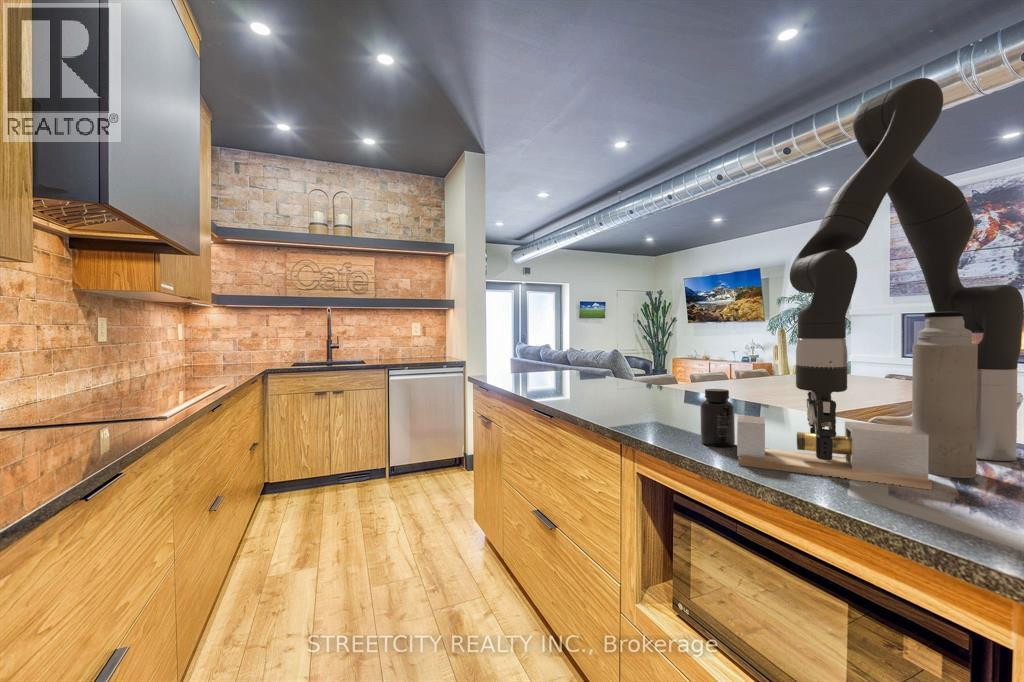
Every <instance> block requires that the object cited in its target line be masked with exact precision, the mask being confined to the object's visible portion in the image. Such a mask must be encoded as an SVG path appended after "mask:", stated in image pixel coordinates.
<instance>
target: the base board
mask: <svg viewBox="0 0 1024 682" xmlns="http://www.w3.org/2000/svg"><path fill="white" fill-rule="evenodd" d="M738 466H744V467H751V468H757V469H758V468H760V469H768V470H772V471H773V470H774V471H775V470H776V471H781V470H782V472H789V473H790V472H791V473H799V474H805V473H806V474H805V475H807V474H808V475H814V476H820V475H823V476H822V477H828V476H832V477H831V478H836V477H840V478H839V479H844V478H847V479H846V480H854V481H861V482H868V481H870V482H869V483H875V482H878V483H877V484H883V483H887V484H886V485H891V484H894V485H893V486H899V485H901V487H908V488H915V489H916V488H917V489H924V490H932V486H933V483H932V482H933V481H932V480H930V479H929V478H928V479H926V478H918V477H909V476H901V475H892V474H884V473H876V472H867V471H859V470H852V469H851V462H848V461H845V456H837V455H836V456H835V455H832V459H831V460H822V459H818V458H817V457H816V453H809V452H808V453H806V452H799V451H798V452H797V451H789V450H780V449H772V448H771V449H770V448H765V460H764V459H756V458H748V457H739V456H738Z"/></svg>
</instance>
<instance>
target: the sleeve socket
mask: <svg viewBox="0 0 1024 682" xmlns="http://www.w3.org/2000/svg"><path fill="white" fill-rule="evenodd" d="M736 420H737V421H736V423H737V424H736V426H737V427H736V430H737V432H736V433H737V435H736V437H737V439H736V440H737V441H736V443H737V445H736V446H737V447H736V448H737V449H736V450H737V451H736V452H737V456H736V457H738V458H739V457H748V458H756V459H764V460H765V449H766V421H765V417H764V416H752V415H739V414H738V416H737V419H736ZM844 436H847V437H851V455H844V457H845V461H848V462H851V469H852V470H859V471H867V472H876V473H884V474H892V475H901V476H909V477H918V478H926V479H929V473H928V440H929V435H928V434H926V433H925V432H923V431H921V430H919V429H918V428H916V427H912V425H910V426H909V425H896V424H886V423H885V424H883V423H872V422H871V423H870V422H869V423H868V422H856V421H844Z"/></svg>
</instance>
